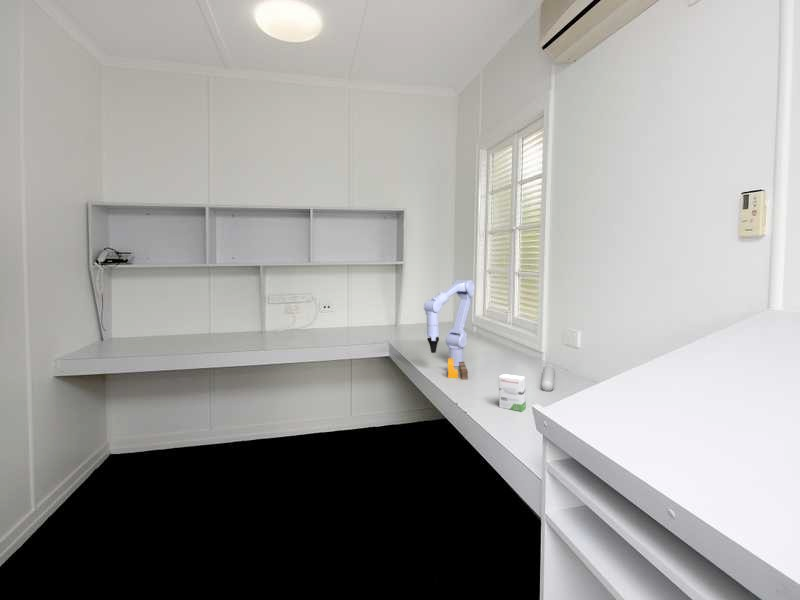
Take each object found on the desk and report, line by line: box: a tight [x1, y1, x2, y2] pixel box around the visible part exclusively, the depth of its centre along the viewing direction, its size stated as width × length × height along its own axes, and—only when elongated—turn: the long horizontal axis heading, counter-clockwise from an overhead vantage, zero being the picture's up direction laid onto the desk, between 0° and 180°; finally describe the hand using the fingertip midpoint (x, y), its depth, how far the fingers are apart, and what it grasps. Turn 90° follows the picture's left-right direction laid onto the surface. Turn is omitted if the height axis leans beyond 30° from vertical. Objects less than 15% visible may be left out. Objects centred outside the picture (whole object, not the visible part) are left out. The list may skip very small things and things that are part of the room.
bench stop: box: [458, 361, 469, 381], centre depth 191 cm, size 16×2×4 cm, turn 177°
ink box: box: [498, 373, 527, 412], centre depth 147 cm, size 9×5×12 cm, turn 54°
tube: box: [540, 363, 556, 392], centre depth 175 cm, size 5×5×25 cm
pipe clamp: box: [447, 357, 459, 379], centre depth 192 cm, size 12×4×6 cm, turn 174°
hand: (433, 352), depth 197 cm, fingers closed
